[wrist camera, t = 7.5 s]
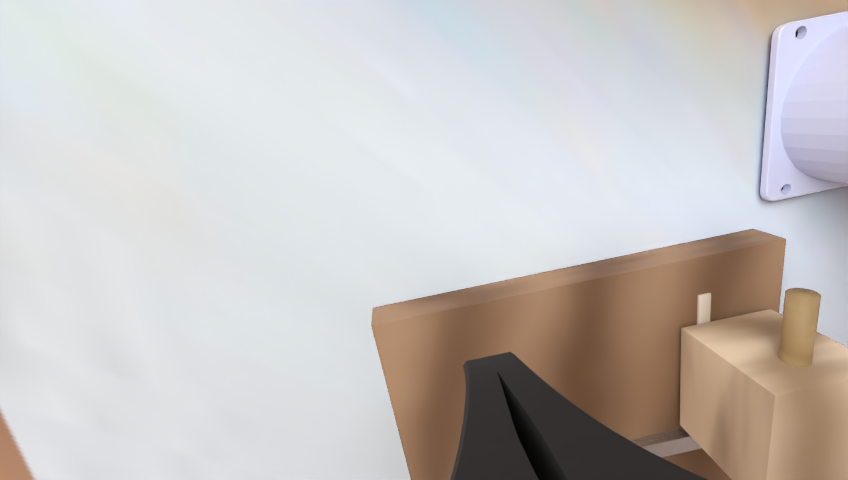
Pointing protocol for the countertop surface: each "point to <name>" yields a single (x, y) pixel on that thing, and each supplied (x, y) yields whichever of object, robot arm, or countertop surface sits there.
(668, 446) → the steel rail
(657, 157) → the countertop surface
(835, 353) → the beige peg block
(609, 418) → the walnut board
